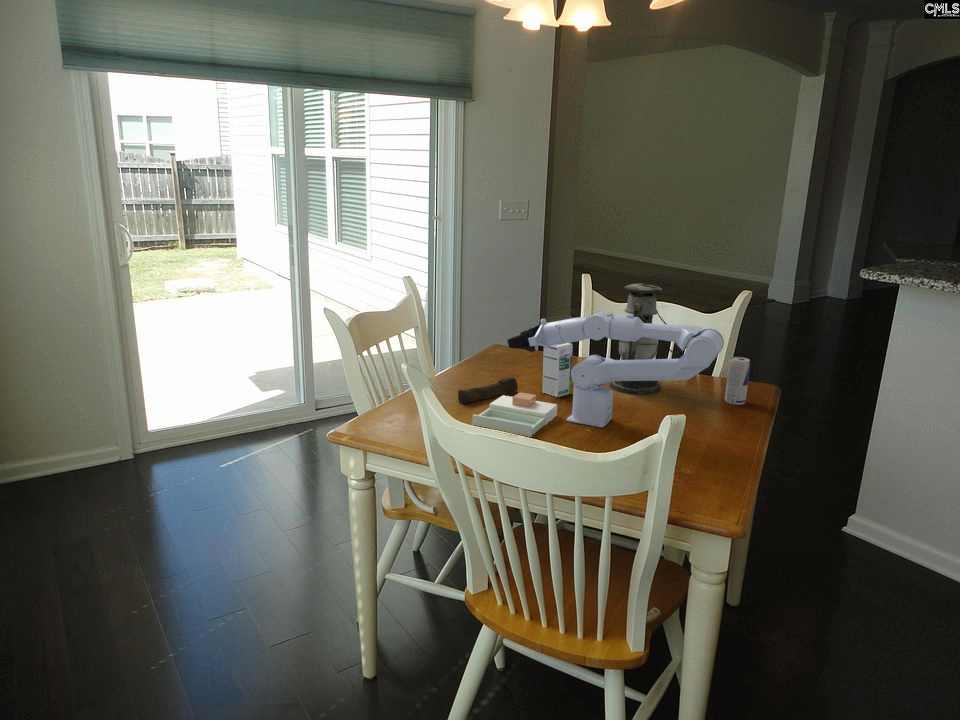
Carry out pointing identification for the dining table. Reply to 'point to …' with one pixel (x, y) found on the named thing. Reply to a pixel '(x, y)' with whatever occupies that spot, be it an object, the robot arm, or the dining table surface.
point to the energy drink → (737, 380)
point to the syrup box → (557, 369)
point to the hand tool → (488, 391)
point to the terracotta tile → (524, 399)
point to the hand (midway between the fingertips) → (515, 340)
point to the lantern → (644, 348)
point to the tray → (509, 422)
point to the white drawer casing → (526, 408)
